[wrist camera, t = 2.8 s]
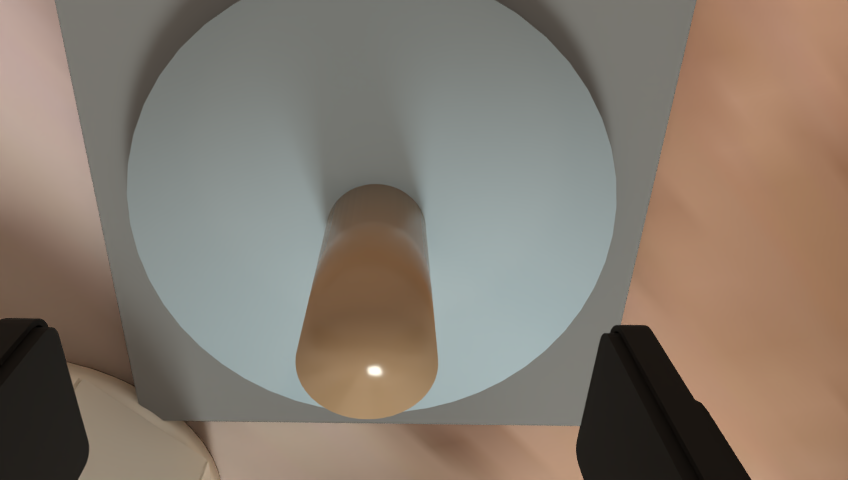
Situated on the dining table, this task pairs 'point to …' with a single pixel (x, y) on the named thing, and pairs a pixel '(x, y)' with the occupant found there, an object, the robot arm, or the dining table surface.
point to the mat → (248, 402)
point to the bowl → (134, 435)
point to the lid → (371, 197)
